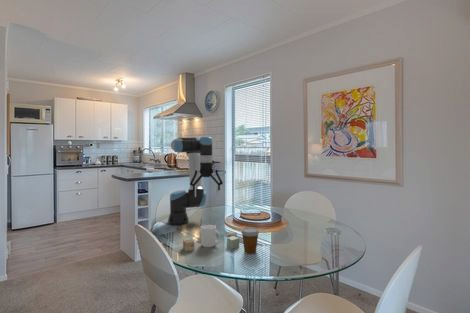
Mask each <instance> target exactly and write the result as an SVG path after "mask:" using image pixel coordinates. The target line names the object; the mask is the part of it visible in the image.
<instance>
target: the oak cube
mask: <svg viewBox="0 0 470 313" xmlns="http://www.w3.org/2000/svg"><path fill="white" fill-rule="evenodd" d="M182 248H183V250H184V251H185V252H191V251H195V240H194V239H193V238H191V237H190V238H187V239H183V240H182Z"/></svg>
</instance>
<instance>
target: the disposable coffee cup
mask: <svg viewBox="0 0 470 313" xmlns="http://www.w3.org/2000/svg"><path fill="white" fill-rule="evenodd" d="M259 233H260V231H259V229H258V228H256V227H252V226H251V227H250V226H249V227H243V228H242V230H241V234H242V242H243V249H244V253H245V254H249V255H250V254H251V255H252V254H255V253H257V248H258V237H259Z"/></svg>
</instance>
